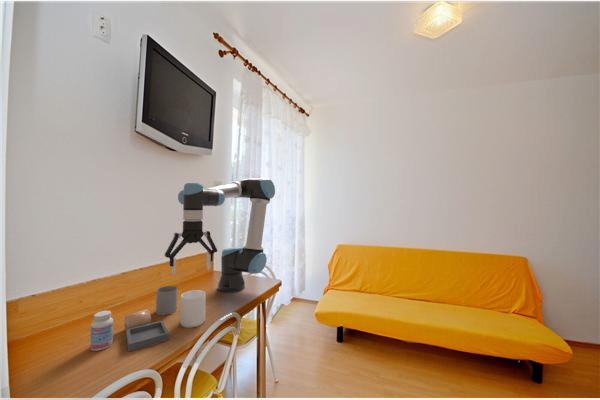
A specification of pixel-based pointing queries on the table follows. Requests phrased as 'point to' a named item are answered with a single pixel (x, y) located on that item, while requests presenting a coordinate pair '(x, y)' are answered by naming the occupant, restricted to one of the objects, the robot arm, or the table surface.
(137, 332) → the tray
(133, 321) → the beige block
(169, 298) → the cup
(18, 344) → the table surface
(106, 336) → the pill bottle
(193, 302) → the mug
